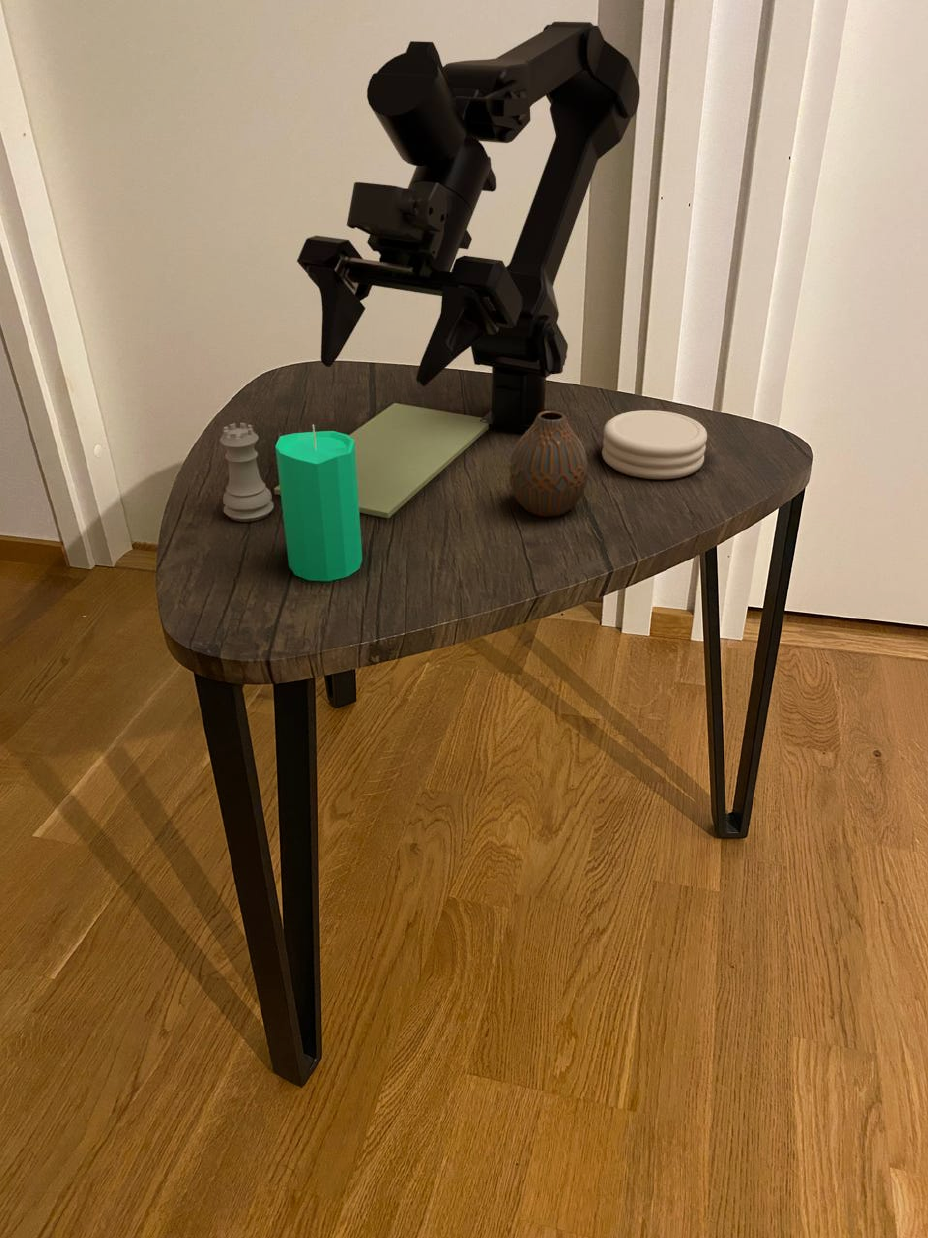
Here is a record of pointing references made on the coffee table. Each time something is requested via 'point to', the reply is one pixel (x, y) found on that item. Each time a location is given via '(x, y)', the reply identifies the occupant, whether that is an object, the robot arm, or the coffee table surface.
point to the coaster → (654, 444)
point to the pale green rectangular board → (406, 453)
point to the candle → (320, 504)
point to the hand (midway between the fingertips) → (371, 373)
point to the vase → (548, 466)
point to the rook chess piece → (244, 476)
